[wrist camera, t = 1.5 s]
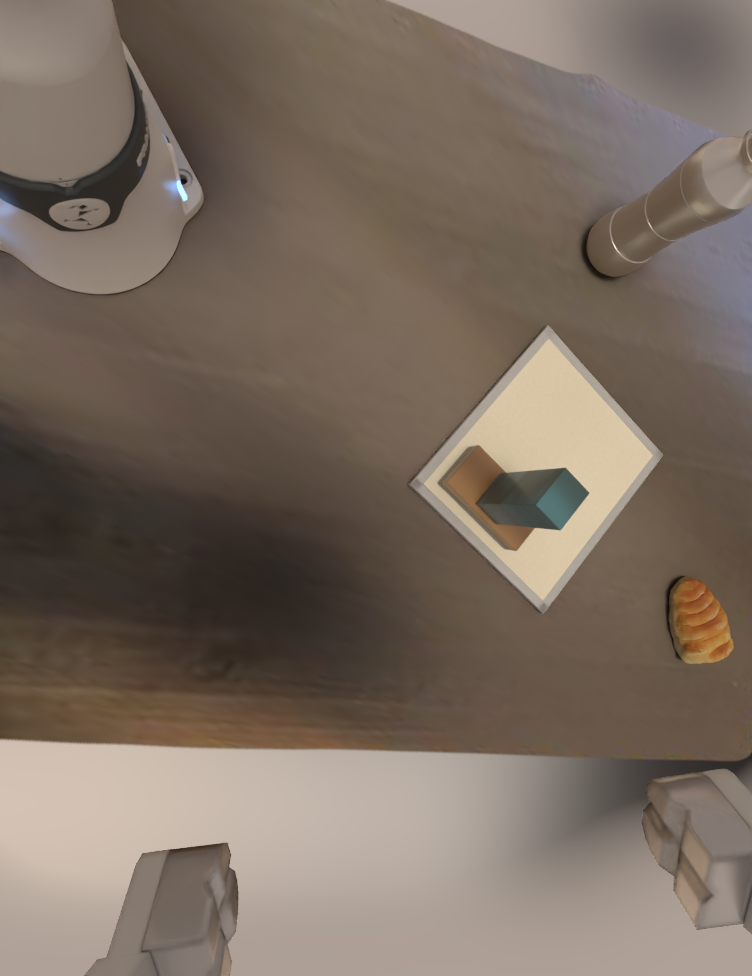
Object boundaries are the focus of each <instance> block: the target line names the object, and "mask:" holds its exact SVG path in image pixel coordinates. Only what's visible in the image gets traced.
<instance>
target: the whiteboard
mask: <svg viewBox="0 0 752 976" xmlns="http://www.w3.org/2000/svg"><path fill="white" fill-rule="evenodd" d="M477 445H480V446H481V448H482V449H483V450H484V451H485V452H486V453H487V454H488V455H489V456H490V457H491V458H492V459H493V460H494V461H495V462H496V463H497V464H498V465H499V466H500V467H501V468H502V469H503V470H504V471H505V472H506V473H510V472H521V471H533V470H544V469H556V468H567V470H568V471H569V472H570V473H571V474H572V475H573V476H574V477H575V478H576V479H577V480H578V481H579V482H580V483H581V484H582V485H583V486H584V488H585V489H586V490H587V491H588V492H589V495H588V496H587V497H586V499H585V500H584V501H583V502H582V504H581V505H580V506H579V508H578V509H577V510H576V511H575V513H574V514H573V515H572V517H571V518H570V519H569V520H568V522H567V523H566V524H565V526H564V527H563V528H562V529H561V530H551V529H541V528H535V529H534V530H533V531H532V532H531V534H530V535H529V536H528V537H527V539H526V540H525V541H524V543H523V544H522V545H521V546H520V548H519V549H518V550H517V551H512V550H506V549H504V548H503V547H501V546H500V545H499V544H498V543H497V542H496V541H495V540H494V539H493V538H492V537H491V536H490V535H489V534H488V533H487V532H486V531H485V530H484V529H483V528H482V527H481V526H480V525H479V524H478V523H477V522H476V521H475V520H474V519H473V518H472V517H471V516H470V515H469V514H468V513H467V512H466V511H465V510H464V509H463V508H462V507H461V506H460V505H459V504H458V503H457V502H456V501H455V500H454V499H453V498H452V497H451V496H450V495H449V494H448V493H447V492H446V491H445V490H444V489H443V488H442V487H441V486H440V485H438V482H439V480H440V479H441V478H442V477H443V476H444V475H445V473H446V472H447V471H448V470H449V469H450V468H451V466H452V465H453V464H454V463H455V462H456V461H457V459H458V458H459V457H460V456H461V455H462V454H463V452H464V451H465V450H466V449H467V448H468V447H471V446H477ZM662 456H663V454H662V453H661V452H660V451H659V450H658V449H657V448H656V446H655V445H654V444H653V443H652V442H651V441H650V440H649V439H648V437H647V436H646V435H645V434H644V433H643V432H642V431H641V430H640V428H639V427H638V426H637V425H636V424H635V423H634V422H633V421H632V419H631V418H630V417H629V416H628V415H627V414H626V413H625V412H624V410H623V409H622V408H621V407H620V406H619V405H618V404H617V403H616V401H615V400H614V399H613V398H612V397H611V396H610V395H609V393H608V392H607V391H606V390H605V389H604V388H603V387H602V386H601V384H600V383H599V382H598V381H597V380H596V379H595V378H594V377H593V375H592V374H591V373H590V372H589V371H588V370H587V369H586V368H585V366H584V365H583V364H582V363H581V362H580V361H579V360H578V359H577V357H576V356H575V355H574V354H573V353H572V352H571V351H570V350H569V348H568V347H567V346H566V345H565V344H564V343H563V342H562V341H561V339H560V338H559V337H558V336H557V335H556V334H555V333H554V331H553V330H552V329H551V328H550V327H549V326H546V327H544V328H543V329H542V330H541V332H540V333H539V334H538V335H537V336H536V337H535V338H534V340H533V341H532V342H531V343H530V344H529V345H528V346H527V348H526V349H525V350H524V351H523V352H522V353H521V355H520V356H519V357H518V358H517V359H516V360H515V361H514V363H513V364H512V365H511V366H510V367H509V368H508V369H507V371H506V372H505V373H504V374H503V375H502V376H501V378H500V379H499V380H498V381H497V382H496V383H495V384H494V386H493V387H492V388H491V389H490V390H489V391H488V392H487V394H486V395H485V396H484V397H483V398H482V399H481V401H480V402H479V403H478V404H477V405H476V406H475V407H474V409H473V410H472V411H471V412H470V413H469V414H468V415H467V417H466V418H465V419H464V420H463V421H462V422H461V424H460V425H459V426H458V427H457V428H456V429H455V430H454V432H453V433H452V434H451V435H450V436H449V437H448V438H447V440H446V441H445V442H444V443H443V444H442V445H441V447H440V448H439V449H438V450H437V451H436V452H435V453H434V455H433V456H432V457H431V458H430V459H429V460H428V461H427V463H426V464H425V465H424V466H423V467H422V468H421V470H420V471H419V472H418V473H417V474H416V475H415V476H414V478H413V479H412V480H411V481H410V482H409V483H408V486H410V487H411V488H412V489H413V490H414V491H415V492H416V493H417V494H418V495H419V496H420V497H421V498H422V499H423V500H424V501H425V502H426V503H427V504H428V505H429V506H430V507H431V508H432V509H433V510H434V511H435V512H436V513H437V514H438V515H440V516H441V517H442V518H443V519H444V520H445V521H446V522H447V523H448V524H449V525H450V526H451V527H452V528H453V529H454V530H455V531H456V532H457V533H458V534H459V535H460V536H461V537H462V538H463V539H464V540H465V541H466V542H467V543H468V544H469V545H470V546H472V547H473V548H474V549H475V550H476V551H477V552H478V553H479V554H480V555H481V556H482V557H483V558H484V559H485V560H486V561H487V562H488V563H489V564H490V565H491V566H492V567H493V568H494V569H495V570H496V571H497V572H498V573H499V574H500V575H501V576H502V577H504V578H505V579H506V580H507V581H508V582H509V583H510V584H511V585H512V586H513V587H514V588H515V589H516V590H517V591H518V592H519V593H520V594H521V595H522V596H523V597H524V598H525V599H526V600H527V601H528V602H529V603H530V604H531V605H532V606H533V607H534V608H535V609H537V610H538V611H539V612H540V613H543V614H544V612H545V611H546V610H547V608H548V607H549V606H550V605H551V603H552V602H553V601H554V599H555V598H556V597H557V595H558V594H559V593H560V591H561V590H562V589H563V587H564V586H565V585H566V583H567V582H568V581H569V579H570V578H571V577H572V575H573V574H574V573H575V571H576V570H577V569H578V567H579V566H580V565H581V563H582V562H583V561H584V559H585V558H586V557H587V555H588V554H589V553H590V552H591V550H592V549H593V548H594V546H595V545H596V544H597V542H598V541H599V540H600V538H601V537H602V536H603V534H604V533H605V532H606V530H607V529H608V528H609V526H610V525H611V524H612V522H613V521H614V520H615V518H616V517H617V516H618V514H619V513H620V512H621V510H622V509H623V508H624V506H625V505H626V504H627V502H628V501H629V500H630V498H631V497H632V496H633V495H634V493H635V492H636V491H637V489H638V488H639V487H640V485H641V484H642V483H643V481H644V480H645V479H646V477H647V476H648V475H649V473H650V472H651V471H652V469H653V468H654V467H655V465H656V464H657V463H658V461H659V460H660V459H661V457H662Z"/></svg>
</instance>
